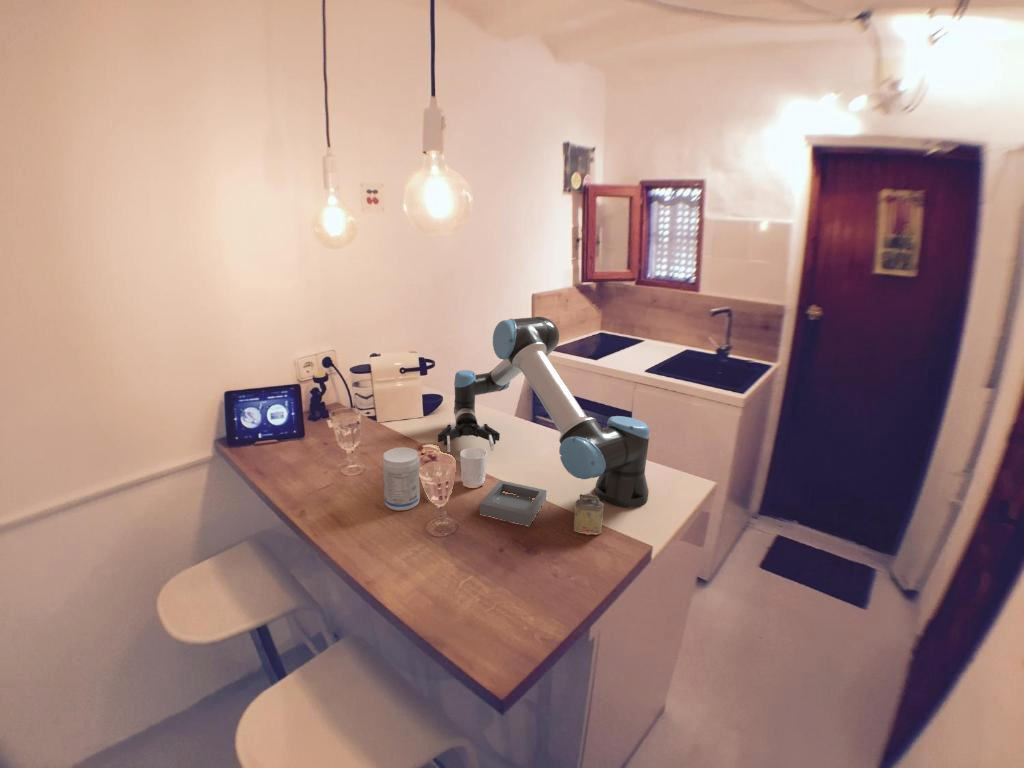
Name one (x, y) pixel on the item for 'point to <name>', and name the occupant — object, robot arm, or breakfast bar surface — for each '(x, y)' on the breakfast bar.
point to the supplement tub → (401, 478)
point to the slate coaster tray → (513, 502)
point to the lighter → (588, 514)
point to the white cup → (473, 466)
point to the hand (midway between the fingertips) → (470, 447)
